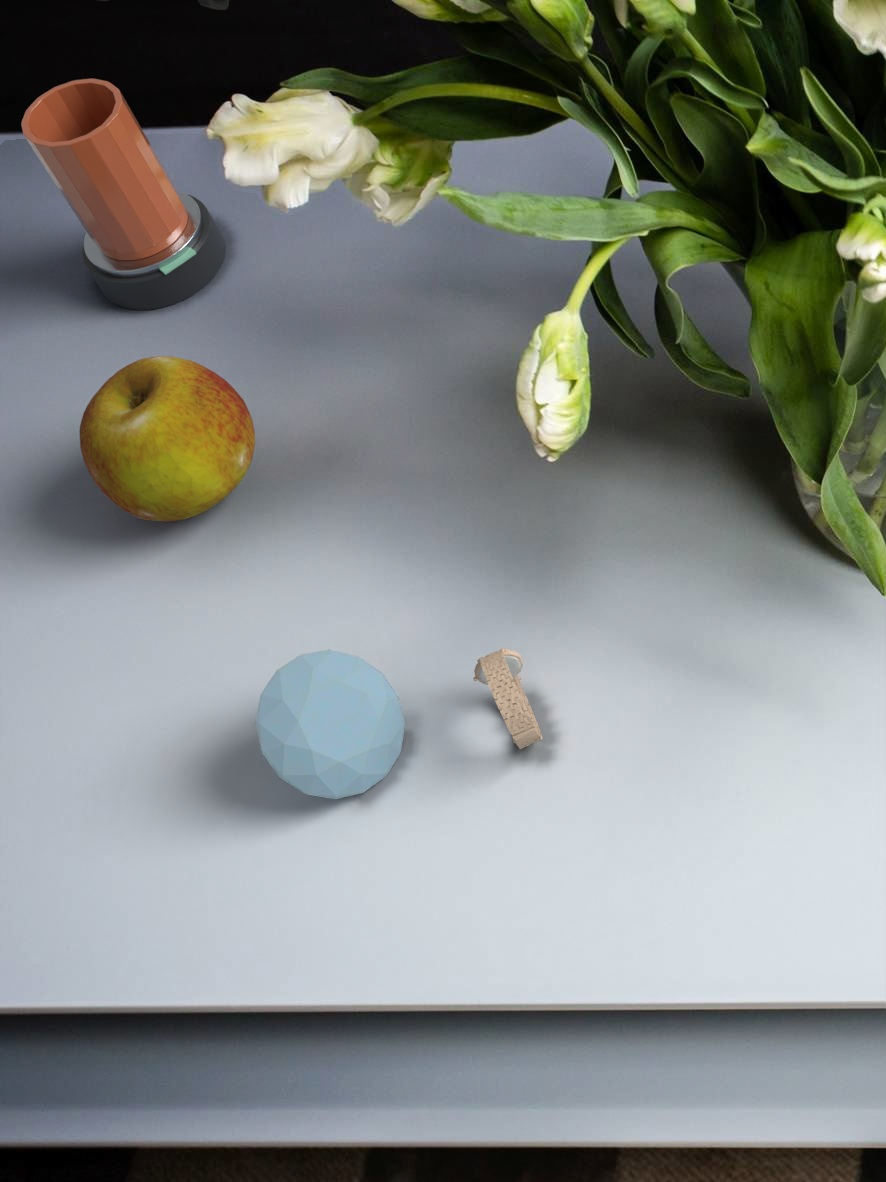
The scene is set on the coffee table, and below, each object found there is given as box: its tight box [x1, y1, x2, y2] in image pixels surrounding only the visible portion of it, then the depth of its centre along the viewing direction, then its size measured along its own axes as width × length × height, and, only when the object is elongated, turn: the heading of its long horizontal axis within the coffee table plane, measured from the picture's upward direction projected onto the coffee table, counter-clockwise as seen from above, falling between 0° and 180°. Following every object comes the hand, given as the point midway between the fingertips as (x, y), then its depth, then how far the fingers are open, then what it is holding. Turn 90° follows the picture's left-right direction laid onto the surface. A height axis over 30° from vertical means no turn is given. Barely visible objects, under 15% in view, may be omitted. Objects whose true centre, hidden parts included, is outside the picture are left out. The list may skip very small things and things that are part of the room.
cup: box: [20, 78, 188, 261], centre depth 100 cm, size 6×6×9 cm
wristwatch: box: [472, 647, 544, 750], centre depth 82 cm, size 3×5×5 cm, turn 24°
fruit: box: [79, 355, 256, 523], centre depth 93 cm, size 10×9×8 cm
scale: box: [81, 189, 227, 311], centre depth 105 cm, size 8×8×3 cm
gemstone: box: [255, 649, 406, 800], centre depth 84 cm, size 8×8×5 cm
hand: (153, 3), depth 102 cm, fingers open, 8 cm apart
